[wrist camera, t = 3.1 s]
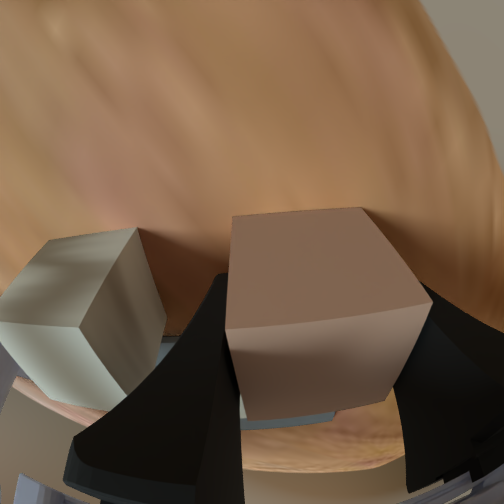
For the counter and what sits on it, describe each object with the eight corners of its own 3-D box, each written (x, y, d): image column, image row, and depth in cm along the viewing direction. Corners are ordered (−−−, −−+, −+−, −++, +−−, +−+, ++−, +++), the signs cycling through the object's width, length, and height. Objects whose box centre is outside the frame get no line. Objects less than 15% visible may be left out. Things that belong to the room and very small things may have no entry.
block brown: (245, 313, 12) (247, 421, 8) (232, 216, 10) (224, 329, 5) (348, 302, 12) (384, 400, 8) (360, 207, 9) (432, 301, 5)
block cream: (87, 317, 12) (50, 399, 8) (49, 239, 10) (-16, 319, 6) (167, 316, 12) (144, 416, 8) (137, 226, 10) (78, 327, 5)
